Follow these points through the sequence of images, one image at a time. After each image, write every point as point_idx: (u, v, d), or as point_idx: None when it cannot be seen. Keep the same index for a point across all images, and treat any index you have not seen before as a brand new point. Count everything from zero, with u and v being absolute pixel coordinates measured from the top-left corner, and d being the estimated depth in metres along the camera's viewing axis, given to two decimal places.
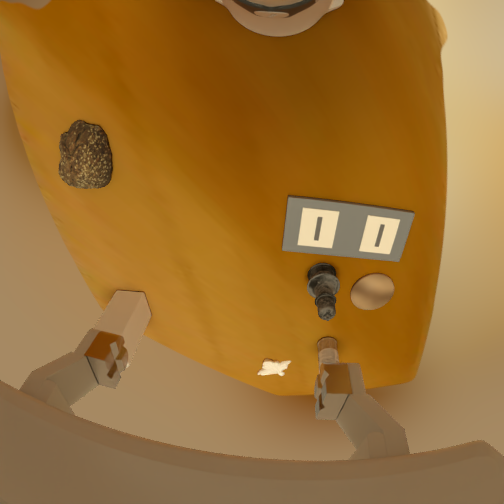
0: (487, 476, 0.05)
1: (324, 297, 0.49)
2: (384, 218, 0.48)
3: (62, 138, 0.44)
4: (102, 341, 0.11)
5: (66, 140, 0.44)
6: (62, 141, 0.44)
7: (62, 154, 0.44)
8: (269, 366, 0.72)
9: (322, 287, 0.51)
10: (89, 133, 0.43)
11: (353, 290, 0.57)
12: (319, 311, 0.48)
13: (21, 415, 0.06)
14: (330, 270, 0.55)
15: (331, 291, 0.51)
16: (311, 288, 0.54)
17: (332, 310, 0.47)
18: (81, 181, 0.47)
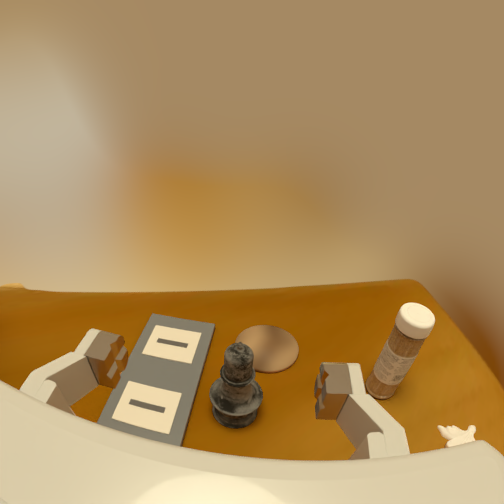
0: (487, 476, 0.05)
1: (224, 371, 0.29)
2: (150, 338, 0.41)
3: None
4: (102, 341, 0.11)
5: None
6: None
7: None
8: None
9: (223, 386, 0.30)
10: None
11: (262, 368, 0.39)
12: (234, 363, 0.27)
13: (21, 415, 0.06)
14: None
15: None
16: (236, 408, 0.29)
17: (229, 346, 0.29)
18: None
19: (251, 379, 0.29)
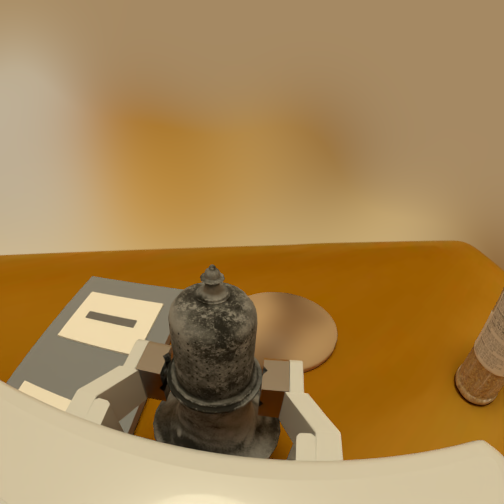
0: (487, 476, 0.05)
1: (175, 366, 0.10)
2: (77, 312, 0.22)
3: None
4: (153, 352, 0.11)
5: None
6: None
7: None
8: None
9: (180, 406, 0.11)
10: None
11: None
12: (192, 340, 0.08)
13: (21, 415, 0.06)
14: None
15: None
16: None
17: (184, 289, 0.10)
18: None
19: (251, 390, 0.10)
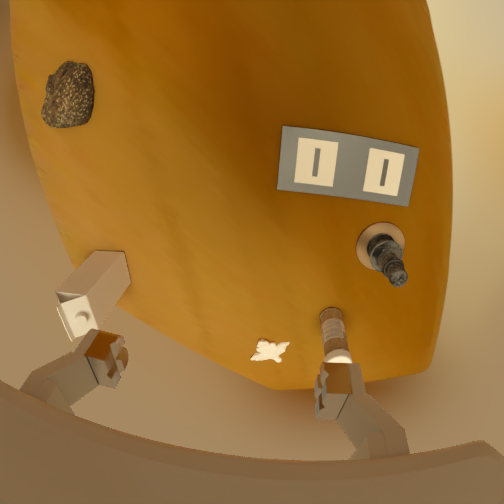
0: (487, 476, 0.05)
1: (394, 263, 0.42)
2: (387, 152, 0.42)
3: (49, 78, 0.39)
4: (102, 341, 0.11)
5: (53, 79, 0.39)
6: (49, 81, 0.39)
7: (47, 91, 0.39)
8: (264, 348, 0.63)
9: (389, 254, 0.45)
10: (75, 69, 0.38)
11: (359, 243, 0.50)
12: (391, 276, 0.41)
13: (21, 415, 0.06)
14: None
15: (398, 258, 0.44)
16: (374, 258, 0.47)
17: (405, 274, 0.40)
18: (60, 116, 0.41)
19: (387, 276, 0.44)
